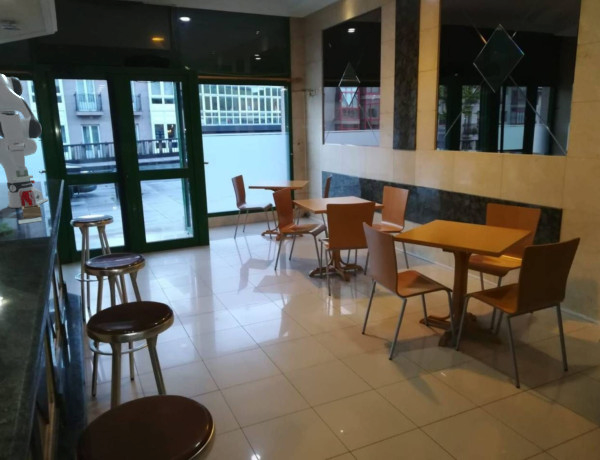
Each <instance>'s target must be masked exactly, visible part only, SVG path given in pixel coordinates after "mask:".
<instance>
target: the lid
mask: <svg viewBox="0 0 600 460" xmlns="http://www.w3.org/2000/svg"><path fill="white" fill-rule="evenodd" d="M16 175H17V176H16V177H13V180H17V182H18V181H27V180H30V181H31V179H34V176H33V174H29V172H28V170H24V175H20V171H19V170H18V171H16Z"/></svg>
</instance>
